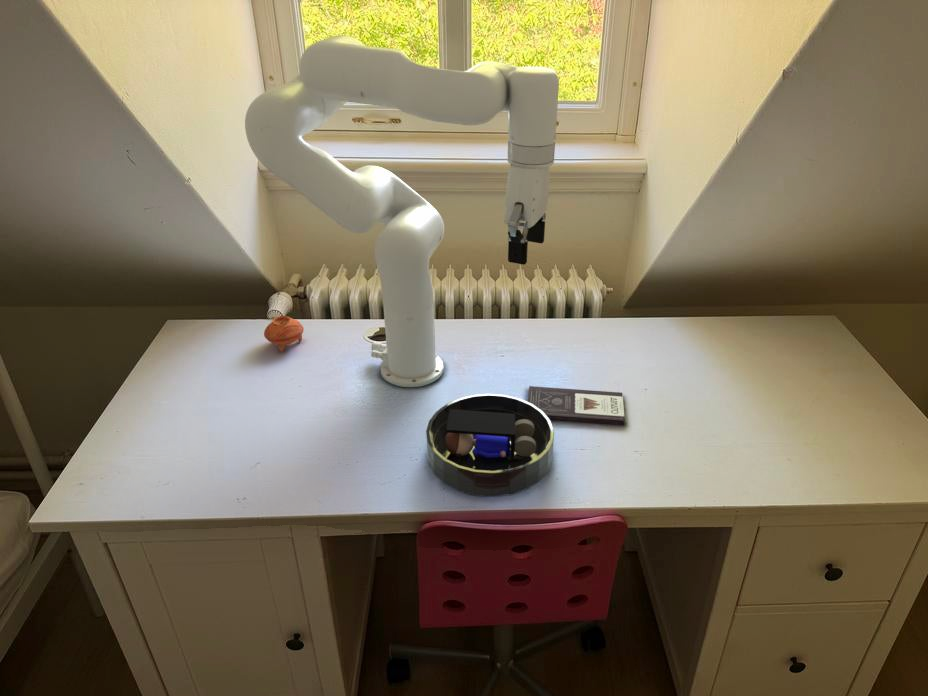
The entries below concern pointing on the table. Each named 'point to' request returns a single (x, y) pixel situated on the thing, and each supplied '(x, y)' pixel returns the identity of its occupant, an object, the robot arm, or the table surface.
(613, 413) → the chocolate bar
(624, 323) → the table surface
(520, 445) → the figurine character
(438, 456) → the bowl
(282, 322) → the pot
